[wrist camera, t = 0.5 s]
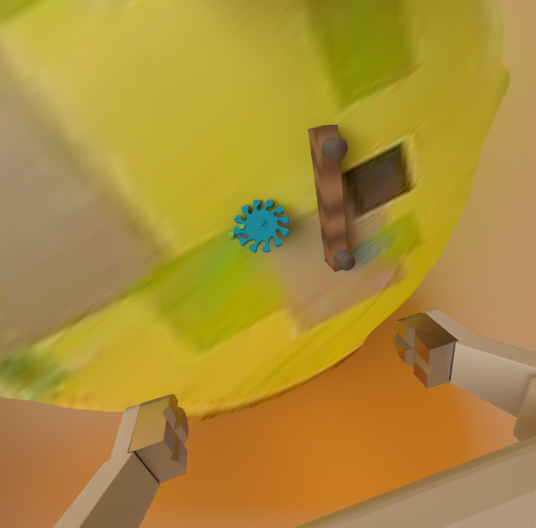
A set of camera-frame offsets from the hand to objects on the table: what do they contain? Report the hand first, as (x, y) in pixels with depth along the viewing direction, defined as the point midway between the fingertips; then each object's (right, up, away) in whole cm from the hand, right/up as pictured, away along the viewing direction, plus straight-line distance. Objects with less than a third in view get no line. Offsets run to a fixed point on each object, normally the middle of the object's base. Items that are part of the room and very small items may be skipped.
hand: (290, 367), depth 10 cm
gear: (-3, +12, +42) cm, 44 cm away
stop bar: (+10, +16, +43) cm, 47 cm away
